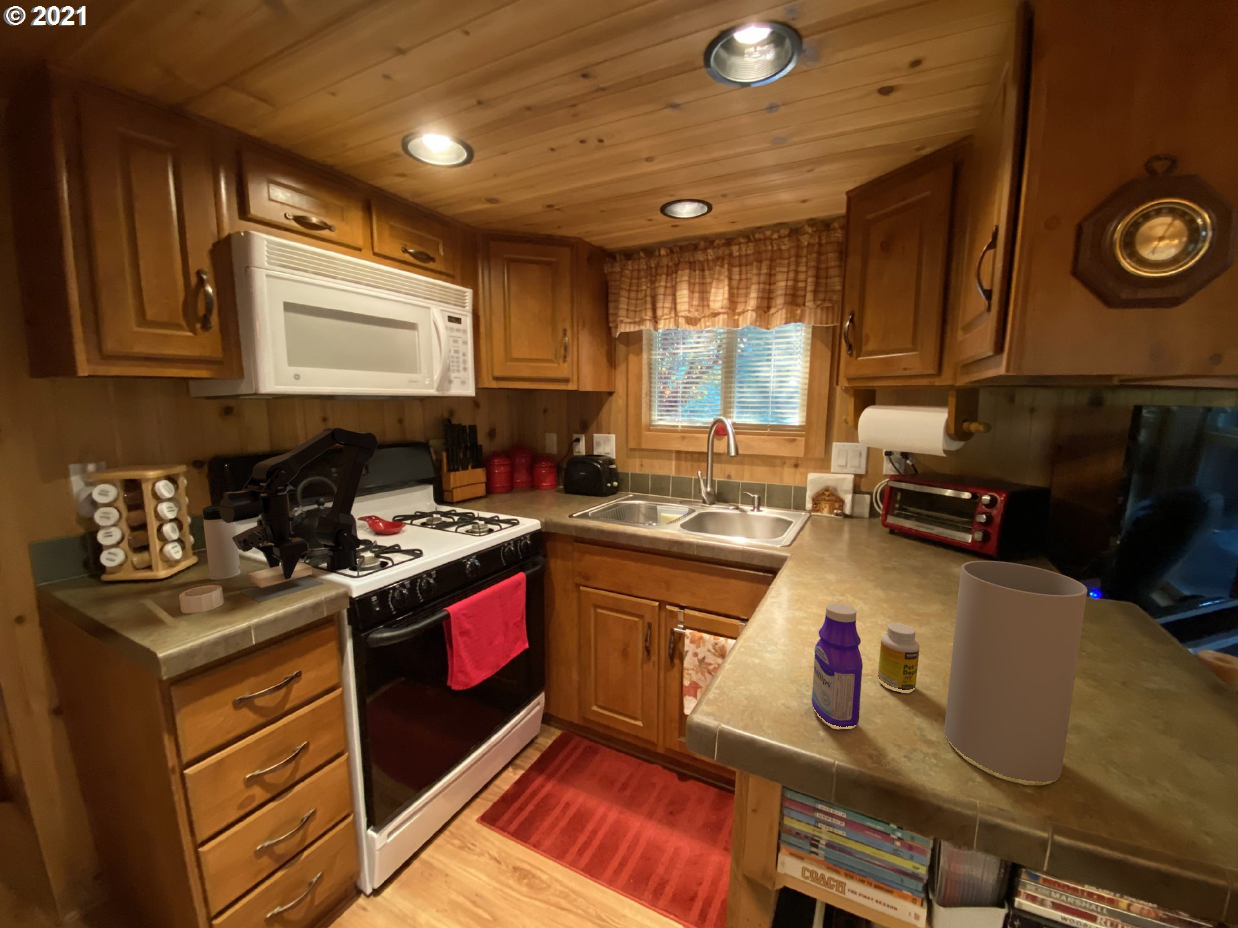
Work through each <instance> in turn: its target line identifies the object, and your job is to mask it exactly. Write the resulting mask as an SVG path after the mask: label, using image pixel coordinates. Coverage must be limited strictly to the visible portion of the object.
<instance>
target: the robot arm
mask: <svg viewBox="0 0 1238 928" xmlns="http://www.w3.org/2000/svg"><path fill="white" fill-rule="evenodd" d="M378 444H379V440H378V439H377V437H376V435H375V434H373V433H372V432H365V431H362V432H361V431H352V430H348V429H344V428H341V427H339V426H338V427H335V426H334V427H332V426H327V427H326V428H323V430H322V431H321V432H319V433H317V434H316V435H314V436H312V437H311V438H309V439H308V440H306V441H304V442H303V443H301V444H300V445H298V446H296V447H294V448H293V449H291V450H289V451H288V452H286V453H282V454H281V455H277V456H273V457H269V458H268V459H264V460H263V461H259V462H257V463H256V464H255V465H254V466H253V468H252V472H251V476H250V477H249V478H248V480H247V482H245V484H244V485H243V488H242V489H241V490H239V491H227V492H223V494H222V495H223V498H222V499H221V500H220V502H219V504H220V507H219V513H220V516H221V518H222V519H223V521H225V522H226V523H232V522H235V523H237V522H240V521H246V520H252V519H256V518H257V520H256V525H255V526H252V527H250V528H248V529H246V530H243V531H242V532H240V533H238V534H237V535H236V536H234V537H232V539H233V541H234V543H235V544H236V546H237V548H238V551H242V552H244V553H246V552H249V551H251V550H253V548H254V549H255V550H258V551H259V552H261V553H262V554H263V555H264V558H265V560H266V563H267V565H268V567H269V568H273V567H277V566H281V567H282V571H283V574H284V577H285V579H289V578H291V576H292V574H293V572H294V569H295V567H296V565H297V563H298V561H300V559H301V557H302V555H303V554H304V553H305V552H308V551H310V544H309V543H310V542H308V541H307V540H305V539H303V538H301V537H296V533H295V532H293V531H292V524H291V522H294V516H292V515H291V513H290V512H291V511H290V500H289V494H294V493H295V494H296V493H297V492H298V489H297V488H295V487H293V486H292V485H291V484H290V482H291V481H292V480H293V479H294V478H295V477H296V476H297V475H298V473H299V471H300V469H301V468H303V466H305V465H307V464H308V463H310V462H312V461H313V460H314V459H316V458H317V457H318V456H320V455H322V454H323V453H325V452H326V451H329V449H331V448H332V447H334V446H336V445H339V446H342V453H343V456H344V464H343V467H342V471H341V474H340V479H339V481H338V484H337V488H336V490H335V494H334V497H333V501H332V505H331V508H330V511H329V512H328V513H327V514H326V515H319V517H318V520H317V524H316V527H315V528H314V532H316V533H315V538H316V539H317V540H318V542H319V543H320V544H321V545H322V548H323V549H326V550H327V555H326V556H325V561H326V563H325V564H326V570H328V572H329V571H330V572H336V571H344V570H348V569H351V568H353V567H355V566H357V565H358V556H357V549H360V547H361V544H362V539H361V538H359V537H358V536H357V535H354V534H353V527H354V524H353V520H352V516H351V514H352V510H353V507H354V502H355V500H356V496H357V493H358V490H359V486H360V483H361V479H362V476H363V473H364V469H365V466H366V464H367V463H368V462H369V461H371V459H372V458H373V457H374V455H375V452H376V450H377V448H378ZM259 516H260V518H258V517H259Z"/></svg>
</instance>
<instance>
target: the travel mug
mask: <svg viewBox="0 0 1238 928" xmlns="http://www.w3.org/2000/svg"><path fill="white" fill-rule="evenodd" d="M219 507H220V503H216V504H211V505H208V506H206V507H203V508H202V515H203V517H202V518H203V528H204V539H205V546H206V547H205V548H206V555H207V564H208V574H209V580H210V581H221V580H222V581H223V580H228V579H232V578H235V577H238V576H240V574H241V567H240V566H241V564H240V554H239V549H238V548H237V546H236V544H235V543H234V541H233V539H232V537H234V536H236V535H238V534H237V526H236V525H237V523H236V522H232V523H226V522H225V521H223V519H222V518H221V516H220V513H219Z"/></svg>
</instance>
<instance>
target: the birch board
mask: <svg viewBox="0 0 1238 928" xmlns="http://www.w3.org/2000/svg"><path fill="white" fill-rule="evenodd" d="M247 575H248V582H249V583H251V584H253V585H254V586H258V587H260V588H263V587H266V586H270V585H274V584H277V583H281V582H285V581H288V580H292V579H296V578H300V577H303V576H309V575H310V576H311V575H313V567H312V565H309V564H307V563H304V562H303V561H300V560H299V561H298V563H297V565H296V567H295V569H294V572H293V574H292V576H291V578H289V579H285V577H284V574H283V571H282V567H281V565H279V566H277V567H273V568H270V567H269V568H264V569H262V570H258V571H257V570H256V571H253V572H249V573H248V574H247Z"/></svg>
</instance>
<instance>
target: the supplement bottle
mask: <svg viewBox="0 0 1238 928" xmlns="http://www.w3.org/2000/svg"><path fill="white" fill-rule="evenodd" d="M879 648H880V650H879V659H878V660H879V661H878V670H877V672H878V673H877V678H878V677H879V679H880V680H881V681H883V682H884V683H886V684H887V685H889V686H891V687H894V688H898V689H902V690H910V689H913V688H915V689H916V687H915V686H916V685H917V677H918V667H919V656H920V649H921V648H920V644H919V642H918V641H917V640H916V630H915V629H914V627H912V626H910V625H907V624H903V623H898V622H892V623H889V624H888V625H887V630H886V633H884V634H883V635H881V638H880V647H879Z"/></svg>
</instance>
